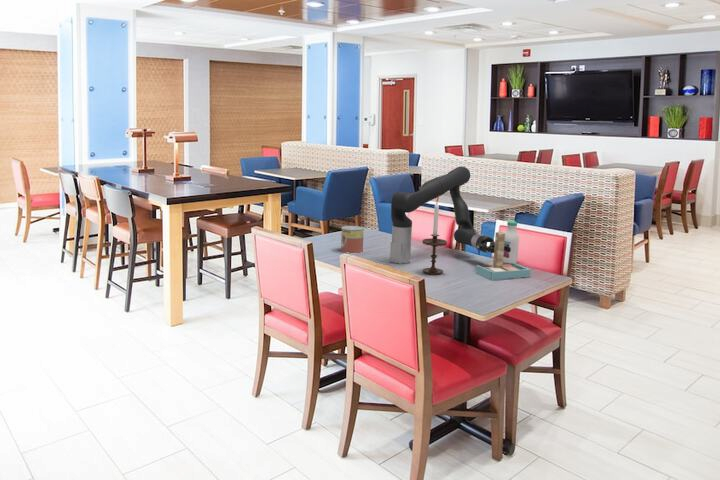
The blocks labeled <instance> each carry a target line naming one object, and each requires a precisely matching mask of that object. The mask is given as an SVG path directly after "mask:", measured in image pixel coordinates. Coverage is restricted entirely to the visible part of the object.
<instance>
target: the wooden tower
mask: <svg viewBox="0 0 720 480" xmlns="http://www.w3.org/2000/svg"><path fill="white" fill-rule="evenodd" d="M494 242H495V248H494V253H493V261H492V262H493V263H492V266H487V267H486V266H484V268H486V269H488V270H489V268H501V269H502V267H512V266H510V265H504V262H503V254H504V242H505V232H502V231H499V232H498V231H496V232H495V238H494Z"/></svg>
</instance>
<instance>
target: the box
mask: <svg viewBox="0 0 720 480" xmlns="http://www.w3.org/2000/svg"><path fill="white" fill-rule="evenodd" d="M511 264H512V266H511V267H515V268H517V269H519V270H510V271H497V272H492V271H490V270H488V269H486V268H484V267H485V266H484V267H483V266H481V265H479V264H478V265H476V274H478V275H479V276H481V277H484V278H486V279H487V280H490V281H498V280H499V279H501V280H510V279H509V278H514V279H522V278H521V277H526V278H531V272H532V270H531V269H530V268H528V267H525V266H523V265H521V264H518V263H511Z"/></svg>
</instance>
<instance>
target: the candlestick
mask: <svg viewBox="0 0 720 480" xmlns="http://www.w3.org/2000/svg"><path fill="white" fill-rule="evenodd" d="M439 198H440V196H438V197H437V198H436V199H435V201H436V203H435V205H434V211H433V225H432V226H433V228H432V229H433V230H432V234H430V236H431V237H432V238H424V239H422V240H421V241H422V245H423V244H424V245H426V246H431V247H432V253H431V255H430V258H431V260H430V263H431V265H430V267H426V268H423V269H422V273H423V274H426V275H430V276H431V275H432V276H440V275H443V273H444V270H443V269H442V268H438V267H436V263H437V261H436V259H437V257H438V256H437V254H436V251H437V247H442V246H446V245H447V244H448V241H447V240H445V239H441V238H438V237H439V236H440V235H439V234H438V227H439V210H440V209H439V208H440V207H439V206H440V205H439V204H438V202H439Z"/></svg>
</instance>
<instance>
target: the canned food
mask: <svg viewBox="0 0 720 480" xmlns="http://www.w3.org/2000/svg"><path fill="white" fill-rule="evenodd" d="M364 229H365V227H362V226H358V225H345V226H341V234H340V235H341V243H340V252H341V251H342V252H341V253H344V254H347V253H346V252H349V253H348V254H350V255H351V253H357V254H361V252H362V253H364V231H365V230H364Z"/></svg>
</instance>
